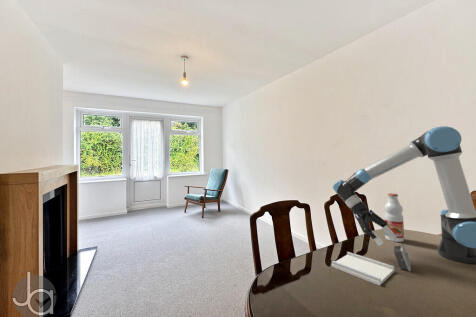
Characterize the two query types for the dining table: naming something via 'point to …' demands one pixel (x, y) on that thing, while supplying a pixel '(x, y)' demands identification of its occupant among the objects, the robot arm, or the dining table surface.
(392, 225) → the fruit juice
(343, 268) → the white tray
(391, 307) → the dining table surface
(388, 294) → the dining table surface
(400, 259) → the electrical switch
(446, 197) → the robot arm
